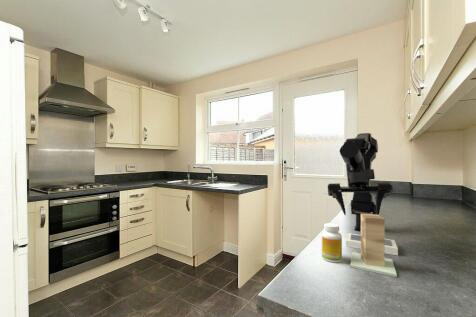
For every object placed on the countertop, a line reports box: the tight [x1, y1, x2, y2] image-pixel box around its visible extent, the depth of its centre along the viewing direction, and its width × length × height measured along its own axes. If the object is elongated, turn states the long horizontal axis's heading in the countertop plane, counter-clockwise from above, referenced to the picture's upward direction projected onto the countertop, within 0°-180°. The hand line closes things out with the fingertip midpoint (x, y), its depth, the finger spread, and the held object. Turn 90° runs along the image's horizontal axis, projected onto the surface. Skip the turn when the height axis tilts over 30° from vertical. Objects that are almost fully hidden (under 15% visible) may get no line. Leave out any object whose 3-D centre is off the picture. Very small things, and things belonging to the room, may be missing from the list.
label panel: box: [345, 232, 399, 256], centre depth 74 cm, size 9×14×2 cm, turn 61°
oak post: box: [360, 214, 386, 267], centre depth 61 cm, size 4×4×12 cm
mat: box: [350, 251, 398, 278], centre depth 61 cm, size 10×10×1 cm
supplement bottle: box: [321, 222, 343, 263], centre depth 64 cm, size 5×5×10 cm
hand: (361, 215), depth 71 cm, fingers open, 9 cm apart
